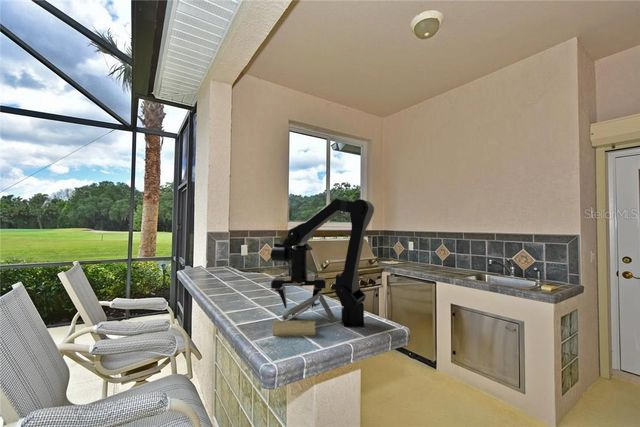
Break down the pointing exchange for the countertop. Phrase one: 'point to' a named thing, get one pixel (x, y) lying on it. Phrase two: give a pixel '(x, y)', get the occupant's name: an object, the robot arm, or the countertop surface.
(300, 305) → the bracket
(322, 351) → the countertop surface
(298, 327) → the tan wooden block
